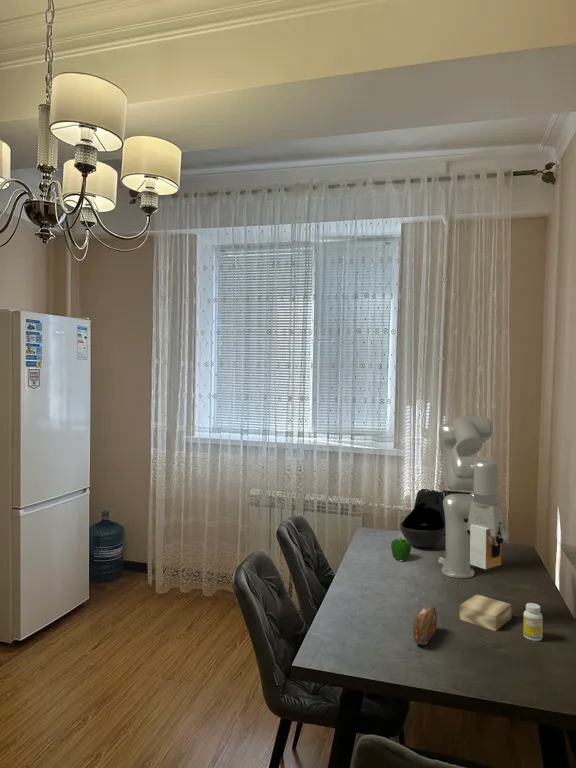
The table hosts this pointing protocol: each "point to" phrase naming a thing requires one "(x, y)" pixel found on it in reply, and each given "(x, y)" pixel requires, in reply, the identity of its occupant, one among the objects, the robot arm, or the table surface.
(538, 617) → the supplement bottle
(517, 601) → the table surface
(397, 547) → the bell pepper
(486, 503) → the robot arm
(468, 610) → the birch block
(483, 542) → the small box
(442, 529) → the coal bowl
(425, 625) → the tin
